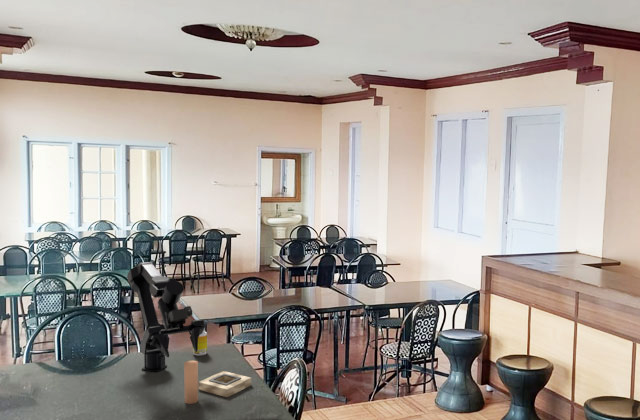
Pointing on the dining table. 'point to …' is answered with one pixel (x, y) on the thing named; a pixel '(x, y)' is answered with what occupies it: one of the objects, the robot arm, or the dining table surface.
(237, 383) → the socket block
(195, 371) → the peg
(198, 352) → the supplement bottle
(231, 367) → the dining table surface
